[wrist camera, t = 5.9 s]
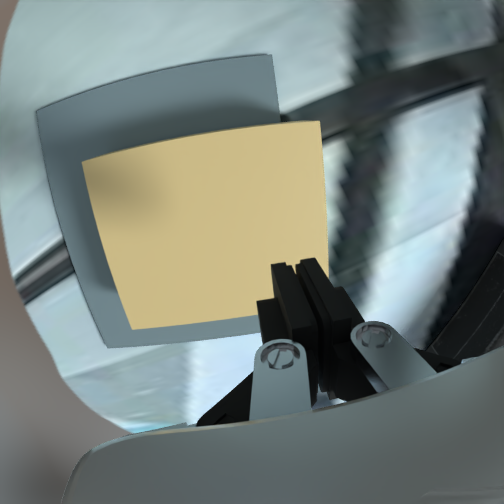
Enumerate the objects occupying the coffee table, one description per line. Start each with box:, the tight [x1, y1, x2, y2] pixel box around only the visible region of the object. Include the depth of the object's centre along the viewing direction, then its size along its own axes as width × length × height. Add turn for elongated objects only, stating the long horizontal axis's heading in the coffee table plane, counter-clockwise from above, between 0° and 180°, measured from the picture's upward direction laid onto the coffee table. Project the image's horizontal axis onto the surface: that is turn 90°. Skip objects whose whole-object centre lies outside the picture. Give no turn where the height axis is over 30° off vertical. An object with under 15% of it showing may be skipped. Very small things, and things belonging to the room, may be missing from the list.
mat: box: [36, 55, 281, 348], centre depth 23 cm, size 18×22×1 cm
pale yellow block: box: [82, 121, 328, 330], centre depth 21 cm, size 4×12×14 cm
